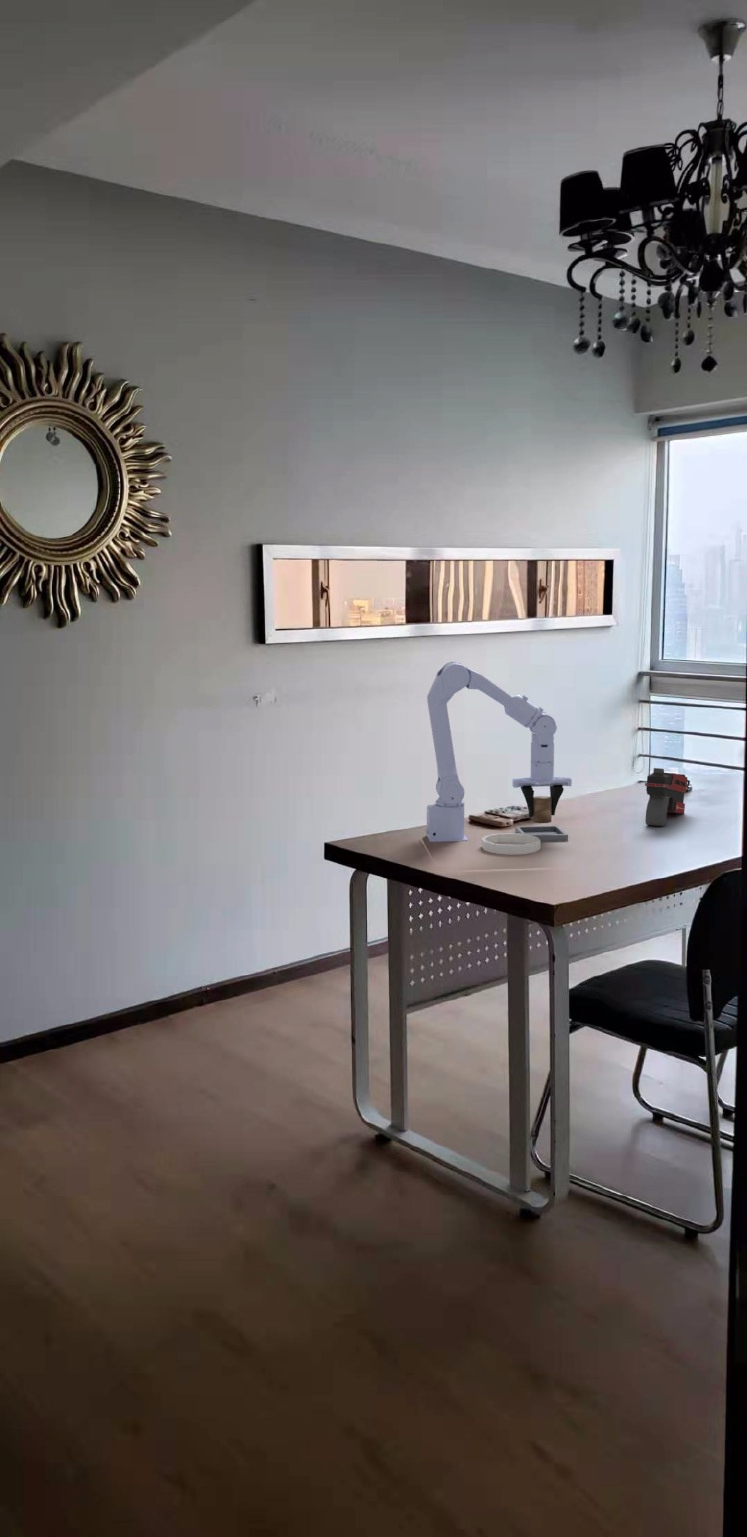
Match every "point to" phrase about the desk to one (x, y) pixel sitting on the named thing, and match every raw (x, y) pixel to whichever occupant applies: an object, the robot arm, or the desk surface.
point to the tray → (544, 832)
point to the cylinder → (542, 809)
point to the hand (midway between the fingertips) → (541, 814)
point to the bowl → (510, 843)
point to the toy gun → (664, 796)
